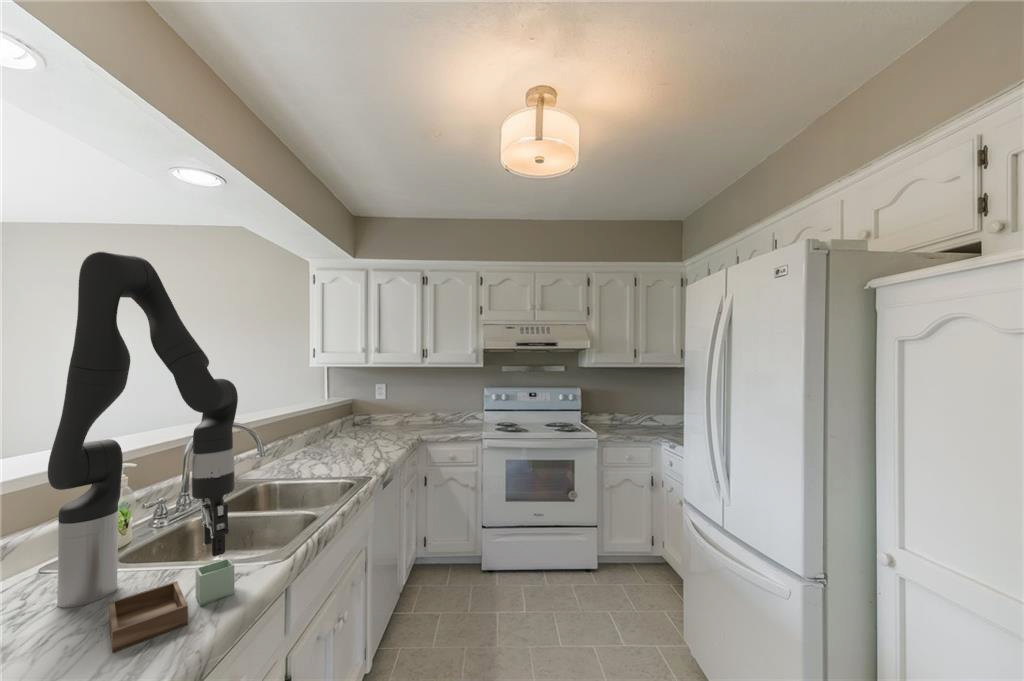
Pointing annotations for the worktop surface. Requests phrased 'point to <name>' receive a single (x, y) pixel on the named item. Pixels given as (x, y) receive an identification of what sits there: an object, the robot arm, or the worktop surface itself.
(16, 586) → the worktop surface
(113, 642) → the big crate
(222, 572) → the small crate
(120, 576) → the worktop surface
